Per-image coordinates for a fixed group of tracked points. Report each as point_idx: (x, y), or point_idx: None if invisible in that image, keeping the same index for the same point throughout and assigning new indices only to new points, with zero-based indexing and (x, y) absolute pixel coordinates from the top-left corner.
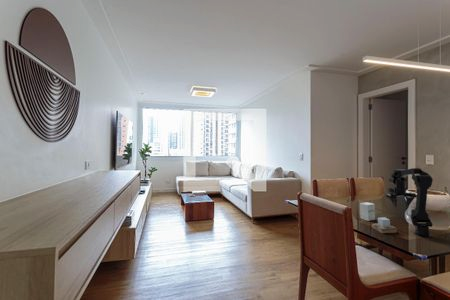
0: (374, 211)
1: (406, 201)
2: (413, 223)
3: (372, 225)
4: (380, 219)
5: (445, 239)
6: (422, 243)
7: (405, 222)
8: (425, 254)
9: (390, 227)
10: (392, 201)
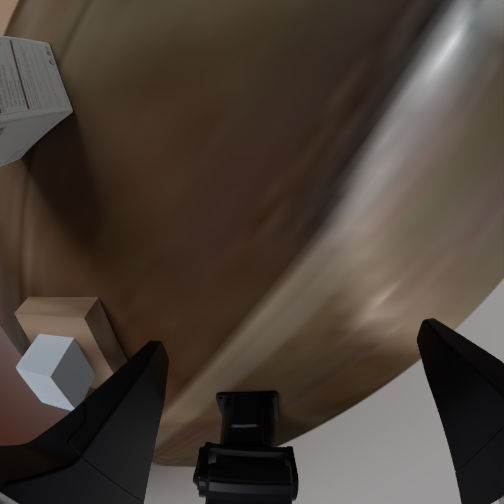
0: (9, 125)
1: (486, 380)
2: (198, 459)
3: (21, 308)
4: (32, 386)
5: (310, 430)
6: (191, 443)
7: (321, 202)
8: (161, 465)
9: (95, 381)
10: (71, 437)
